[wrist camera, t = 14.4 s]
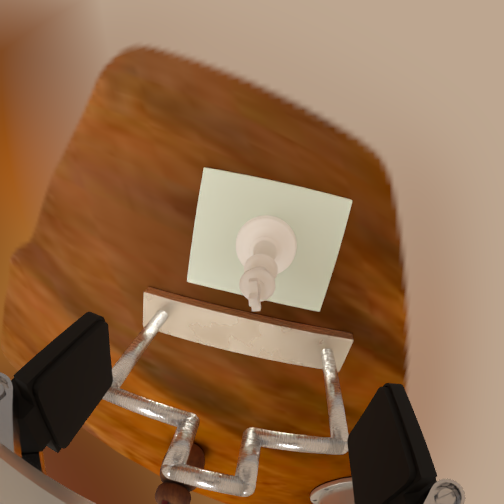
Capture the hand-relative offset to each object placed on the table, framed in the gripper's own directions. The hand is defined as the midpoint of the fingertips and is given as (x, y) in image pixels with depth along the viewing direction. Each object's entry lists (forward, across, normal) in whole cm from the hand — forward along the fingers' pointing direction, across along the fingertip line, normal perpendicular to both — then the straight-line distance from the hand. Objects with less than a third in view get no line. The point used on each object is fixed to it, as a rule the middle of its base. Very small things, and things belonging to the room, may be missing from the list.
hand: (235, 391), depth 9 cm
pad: (+17, 0, -1) cm, 17 cm away
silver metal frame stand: (+17, 0, +8) cm, 19 cm away
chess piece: (+16, 0, 0) cm, 16 cm away
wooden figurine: (+18, +4, +32) cm, 37 cm away
